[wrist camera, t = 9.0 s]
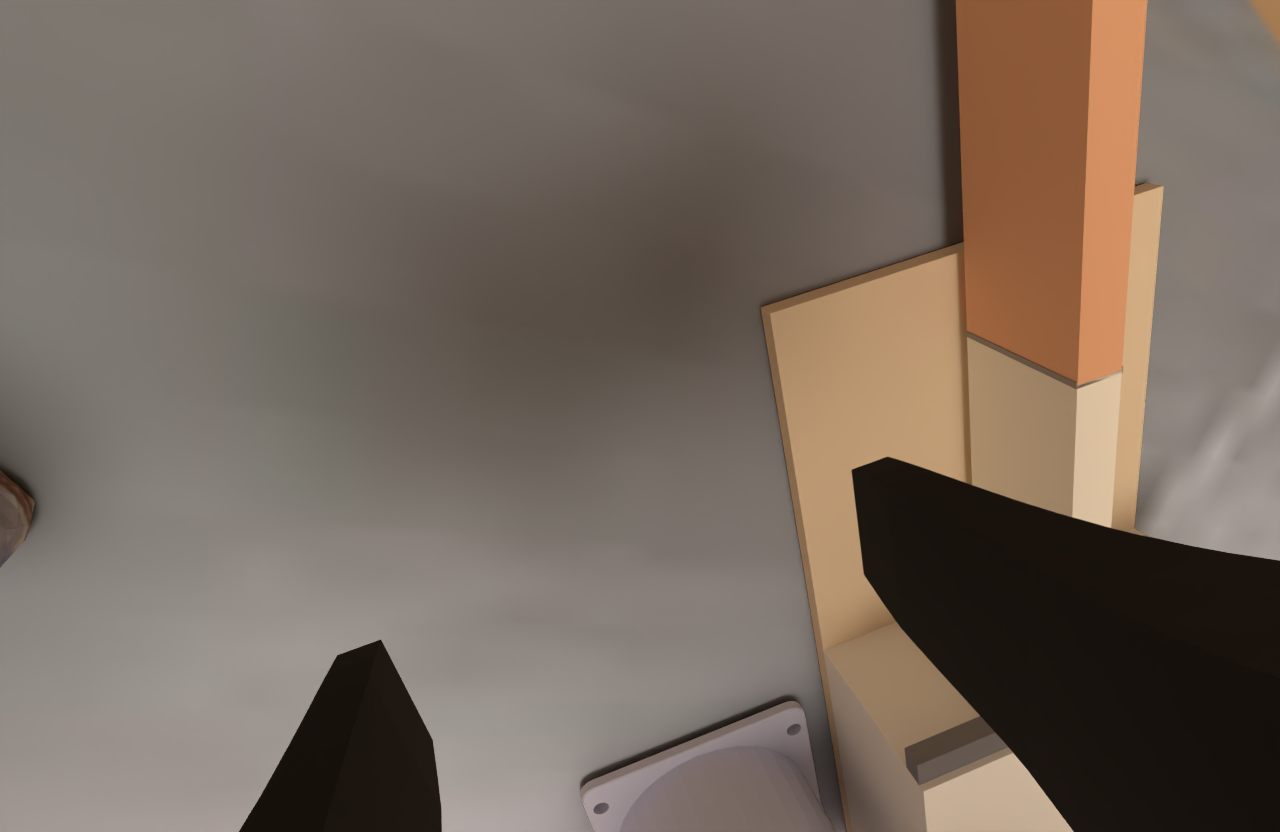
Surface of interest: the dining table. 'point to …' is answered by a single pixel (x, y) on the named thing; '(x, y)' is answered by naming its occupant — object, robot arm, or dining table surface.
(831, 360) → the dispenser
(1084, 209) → the long copper stick
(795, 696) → the dining table surface
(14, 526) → the flask
